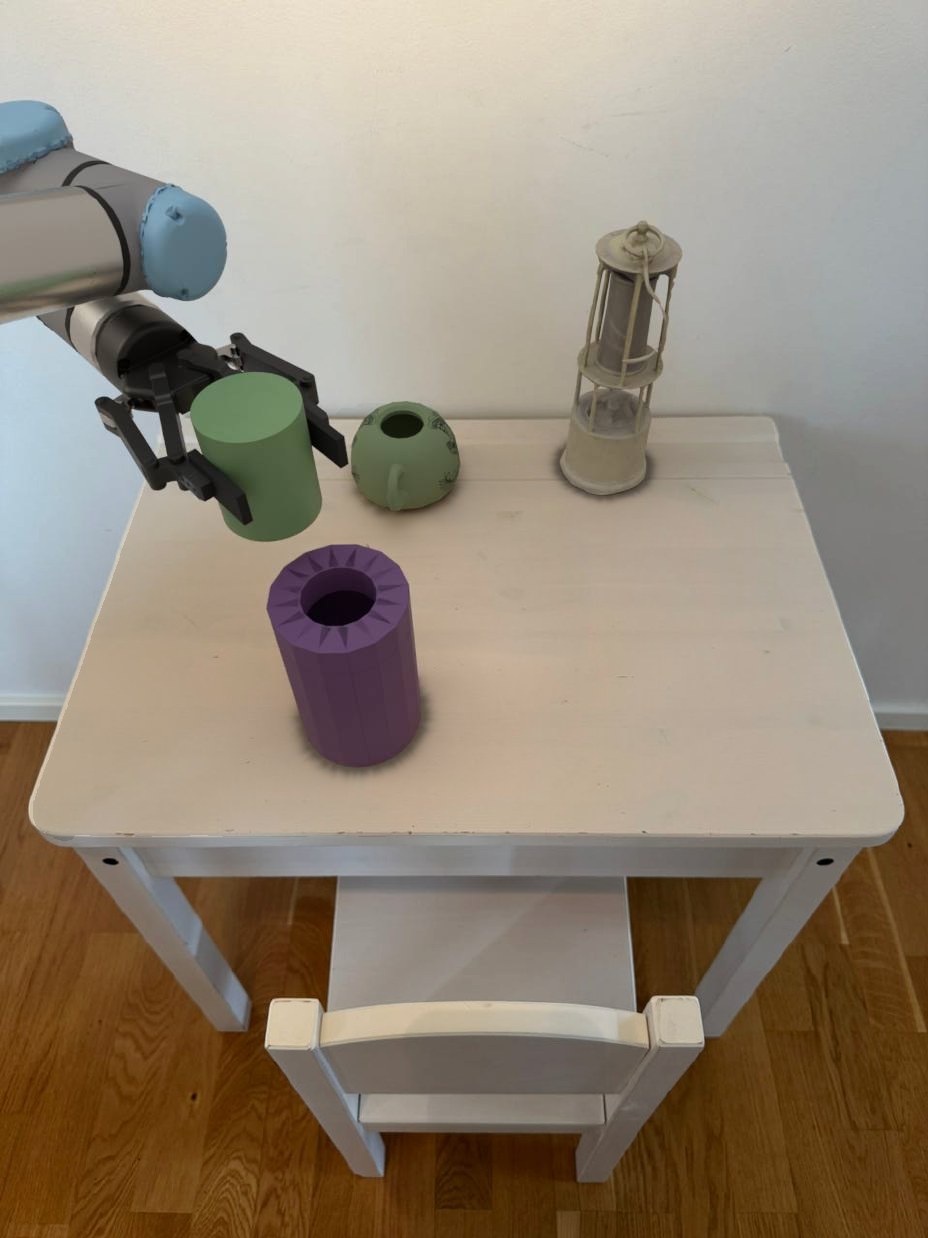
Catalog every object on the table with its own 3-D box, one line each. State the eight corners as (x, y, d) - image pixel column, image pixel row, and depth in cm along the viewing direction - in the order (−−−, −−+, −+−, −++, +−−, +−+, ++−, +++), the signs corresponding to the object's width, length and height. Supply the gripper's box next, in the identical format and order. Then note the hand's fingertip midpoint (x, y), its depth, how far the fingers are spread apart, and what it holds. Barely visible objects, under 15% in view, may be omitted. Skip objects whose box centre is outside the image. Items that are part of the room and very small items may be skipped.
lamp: (639, 436, 107) (685, 193, 83) (656, 510, 99) (711, 265, 75) (556, 438, 107) (578, 196, 83) (566, 512, 99) (593, 268, 75)
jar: (298, 767, 79) (258, 654, 65) (310, 667, 86) (276, 545, 72) (419, 766, 79) (406, 651, 65) (422, 666, 86) (410, 542, 72)
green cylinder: (202, 522, 68) (166, 422, 60) (261, 461, 73) (234, 360, 65) (285, 555, 66) (259, 455, 58) (341, 490, 70) (323, 389, 63)
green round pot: (361, 441, 107) (353, 383, 100) (465, 445, 106) (464, 387, 99) (339, 534, 97) (329, 477, 90) (453, 540, 96) (451, 483, 90)
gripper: (249, 335, 80) (407, 453, 70) (39, 437, 72) (184, 589, 61) (230, 259, 74) (401, 375, 64) (0, 360, 66) (153, 514, 55)
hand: (295, 480), depth 62 cm, fingers closed on green cylinder, 8 cm apart
